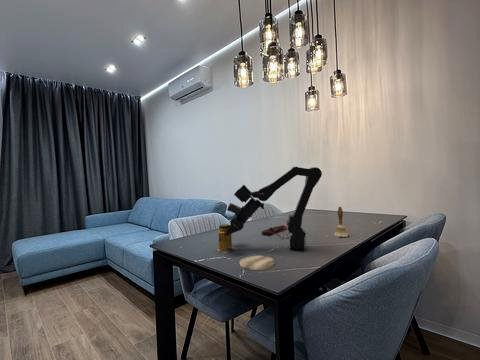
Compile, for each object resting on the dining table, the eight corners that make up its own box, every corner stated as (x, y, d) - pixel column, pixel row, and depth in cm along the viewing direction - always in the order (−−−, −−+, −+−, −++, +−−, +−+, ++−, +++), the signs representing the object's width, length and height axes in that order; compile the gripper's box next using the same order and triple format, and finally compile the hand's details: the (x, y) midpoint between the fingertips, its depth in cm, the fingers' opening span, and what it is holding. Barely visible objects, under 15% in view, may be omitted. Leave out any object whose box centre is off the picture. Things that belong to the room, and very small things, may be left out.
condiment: (215, 250, 128) (214, 225, 128) (230, 246, 133) (229, 222, 133) (224, 253, 122) (223, 227, 122) (238, 249, 127) (237, 224, 127)
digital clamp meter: (255, 229, 153) (280, 221, 171) (255, 236, 153) (280, 228, 171) (290, 234, 137) (313, 225, 155) (290, 243, 137) (314, 233, 155)
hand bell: (337, 238, 139) (336, 208, 139) (330, 235, 148) (329, 206, 147) (352, 237, 140) (351, 207, 140) (344, 233, 149) (343, 205, 148)
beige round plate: (279, 260, 110) (279, 257, 110) (266, 272, 98) (266, 269, 98) (248, 256, 117) (248, 254, 117) (233, 267, 105) (233, 264, 104)
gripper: (238, 195, 136) (218, 217, 137) (234, 199, 117) (210, 225, 119) (254, 210, 135) (233, 232, 137) (253, 217, 117) (229, 242, 118)
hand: (226, 232), depth 128 cm, fingers open, 9 cm apart
